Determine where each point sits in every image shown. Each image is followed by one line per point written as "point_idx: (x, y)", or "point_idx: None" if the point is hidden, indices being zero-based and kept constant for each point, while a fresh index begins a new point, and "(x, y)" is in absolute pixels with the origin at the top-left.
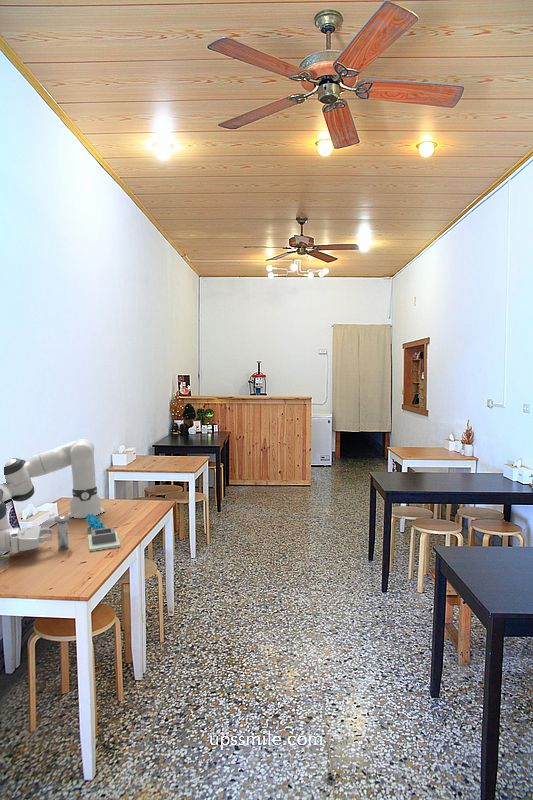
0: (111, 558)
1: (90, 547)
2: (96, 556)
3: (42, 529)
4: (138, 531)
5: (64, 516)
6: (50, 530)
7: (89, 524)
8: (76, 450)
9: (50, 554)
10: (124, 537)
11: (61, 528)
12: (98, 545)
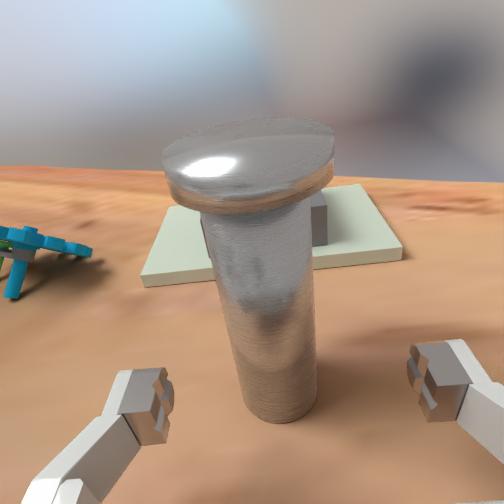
0: (498, 198)
1: (375, 246)
2: (473, 234)
3: (72, 499)
4: None
5: (235, 133)
6: (155, 391)
7: (59, 244)
8: None
9: (423, 479)
10: None
11: (310, 246)
12: (350, 227)
